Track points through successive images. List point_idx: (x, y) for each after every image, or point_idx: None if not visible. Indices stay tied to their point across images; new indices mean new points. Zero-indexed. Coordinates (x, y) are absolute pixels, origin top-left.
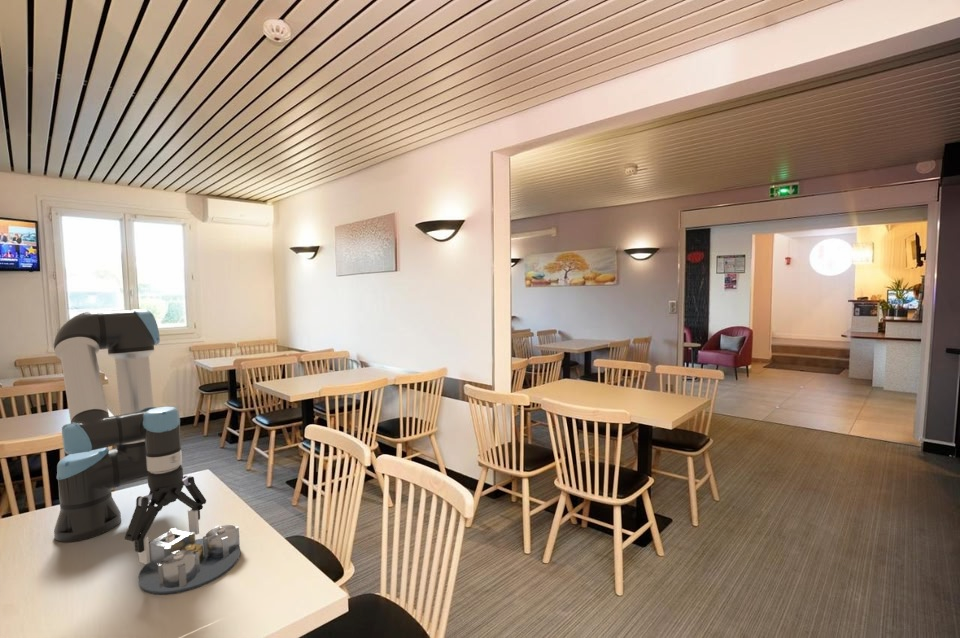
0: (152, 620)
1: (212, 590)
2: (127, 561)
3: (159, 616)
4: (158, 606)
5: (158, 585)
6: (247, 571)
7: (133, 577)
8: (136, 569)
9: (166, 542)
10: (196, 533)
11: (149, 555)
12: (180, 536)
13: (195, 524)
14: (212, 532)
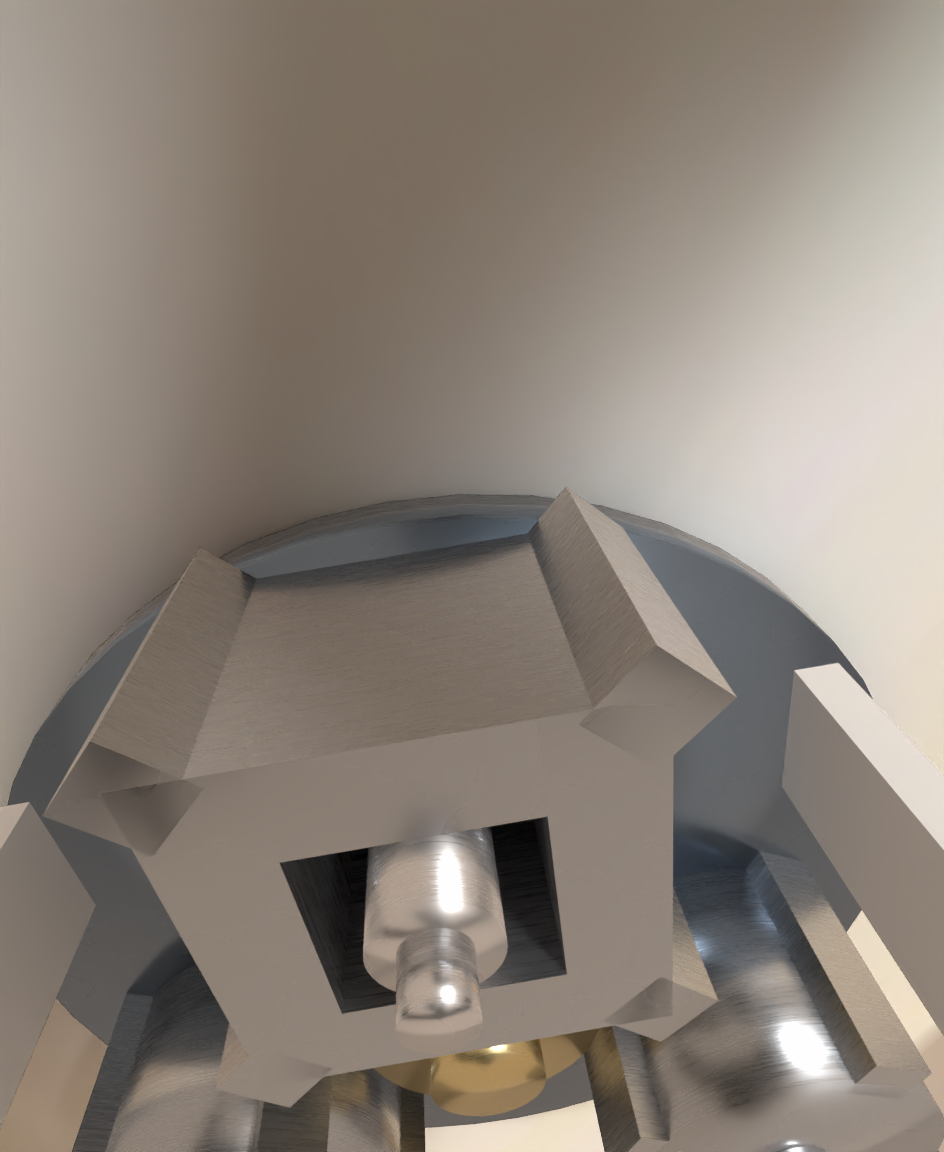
0: (7, 1126)
1: None
2: (55, 71)
3: (50, 1124)
4: (75, 1062)
5: (117, 1001)
6: (587, 1118)
7: (23, 602)
8: (96, 464)
9: (326, 986)
10: (791, 792)
11: (51, 1003)
12: (535, 984)
13: (876, 918)
14: (753, 1134)
